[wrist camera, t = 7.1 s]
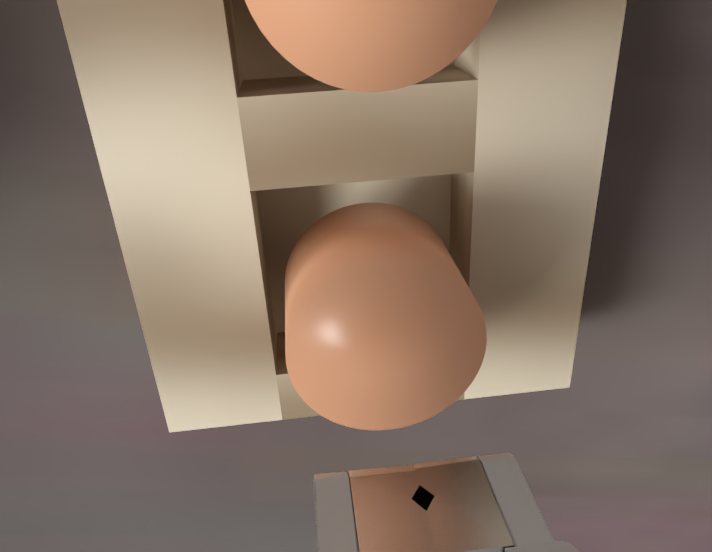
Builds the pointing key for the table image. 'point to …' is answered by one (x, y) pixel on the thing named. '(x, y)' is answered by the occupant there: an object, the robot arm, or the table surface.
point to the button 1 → (379, 319)
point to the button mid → (370, 37)
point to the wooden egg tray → (340, 183)
